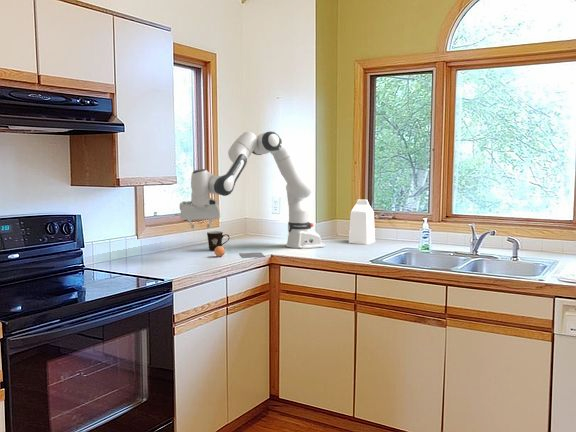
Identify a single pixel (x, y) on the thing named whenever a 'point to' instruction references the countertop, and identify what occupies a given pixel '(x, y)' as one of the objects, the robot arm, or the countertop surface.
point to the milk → (362, 223)
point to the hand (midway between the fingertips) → (200, 228)
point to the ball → (219, 251)
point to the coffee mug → (215, 239)
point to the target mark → (251, 255)
